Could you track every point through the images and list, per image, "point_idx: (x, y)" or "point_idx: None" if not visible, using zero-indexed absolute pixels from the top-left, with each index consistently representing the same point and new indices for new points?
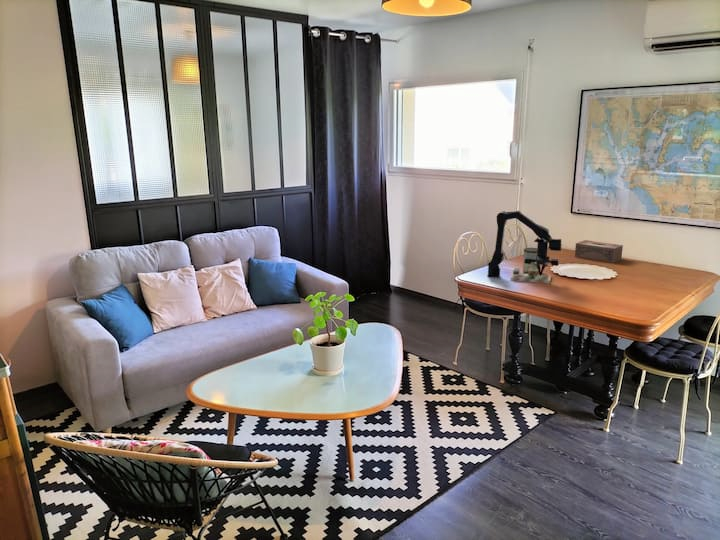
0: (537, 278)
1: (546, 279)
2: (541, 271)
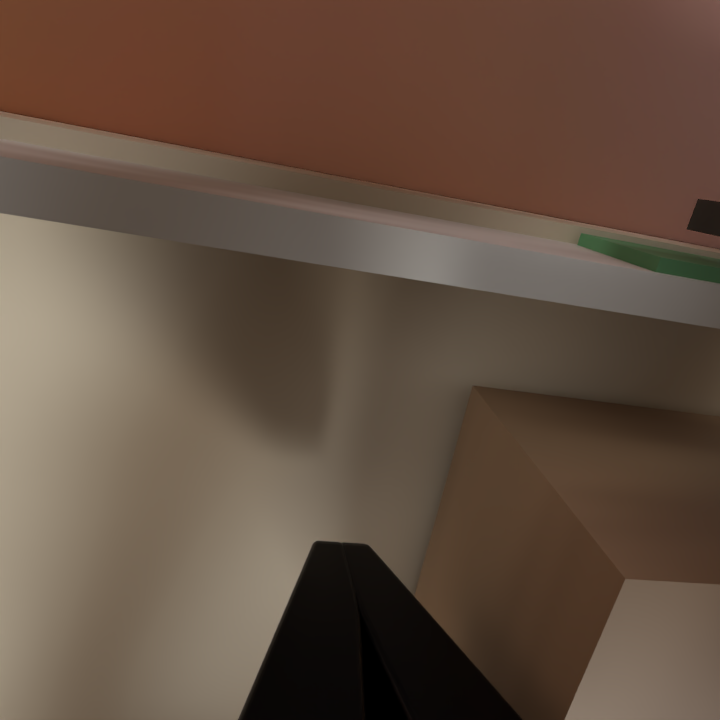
0: (497, 237)
1: (85, 153)
2: (329, 689)
